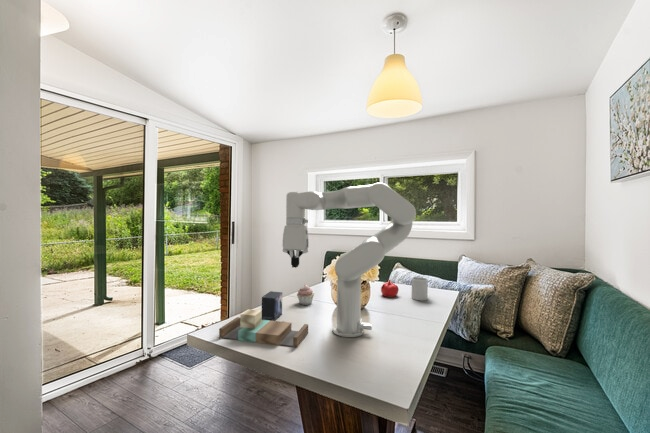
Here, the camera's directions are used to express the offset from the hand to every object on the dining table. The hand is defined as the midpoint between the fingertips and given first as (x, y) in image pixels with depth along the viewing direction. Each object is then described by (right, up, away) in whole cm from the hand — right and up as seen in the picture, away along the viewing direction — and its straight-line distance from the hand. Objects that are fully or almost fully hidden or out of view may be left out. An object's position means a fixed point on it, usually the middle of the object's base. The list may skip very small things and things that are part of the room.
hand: (295, 266), depth 125 cm
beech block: (-16, -22, -6) cm, 28 cm away
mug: (+66, -25, +46) cm, 84 cm away
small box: (-12, -25, +13) cm, 30 cm away
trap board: (-11, -25, -8) cm, 29 cm away
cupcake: (+2, -25, +34) cm, 42 cm away
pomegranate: (+49, -25, +50) cm, 74 cm away
